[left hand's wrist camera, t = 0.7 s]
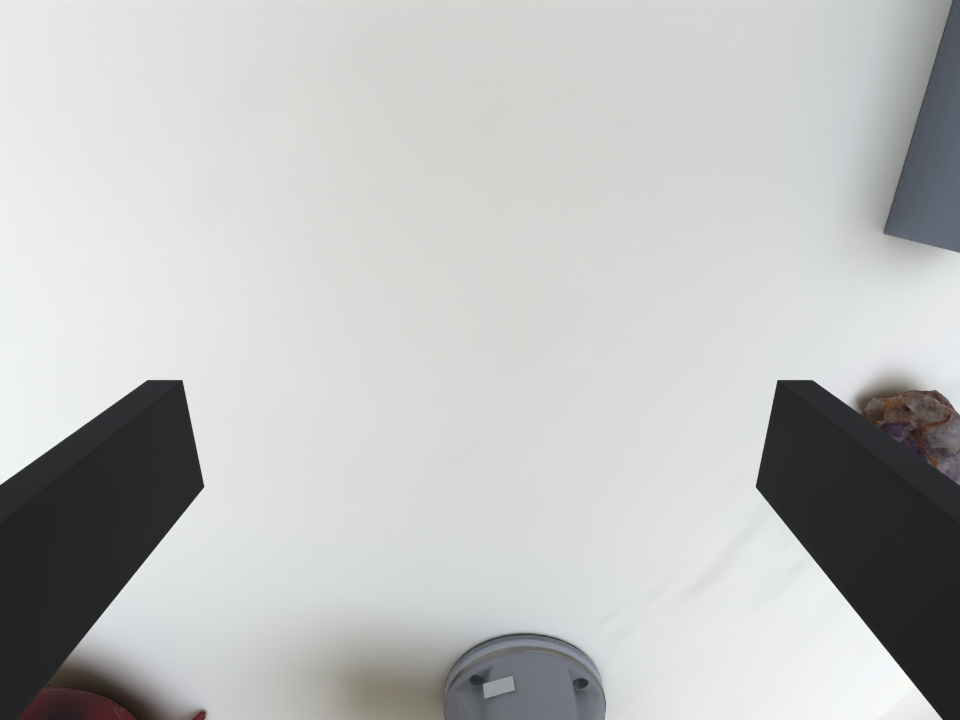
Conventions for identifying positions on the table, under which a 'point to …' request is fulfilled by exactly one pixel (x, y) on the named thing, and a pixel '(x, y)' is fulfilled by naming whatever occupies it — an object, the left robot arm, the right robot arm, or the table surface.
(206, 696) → the table surface
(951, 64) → the bar
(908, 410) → the rock
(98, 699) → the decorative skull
